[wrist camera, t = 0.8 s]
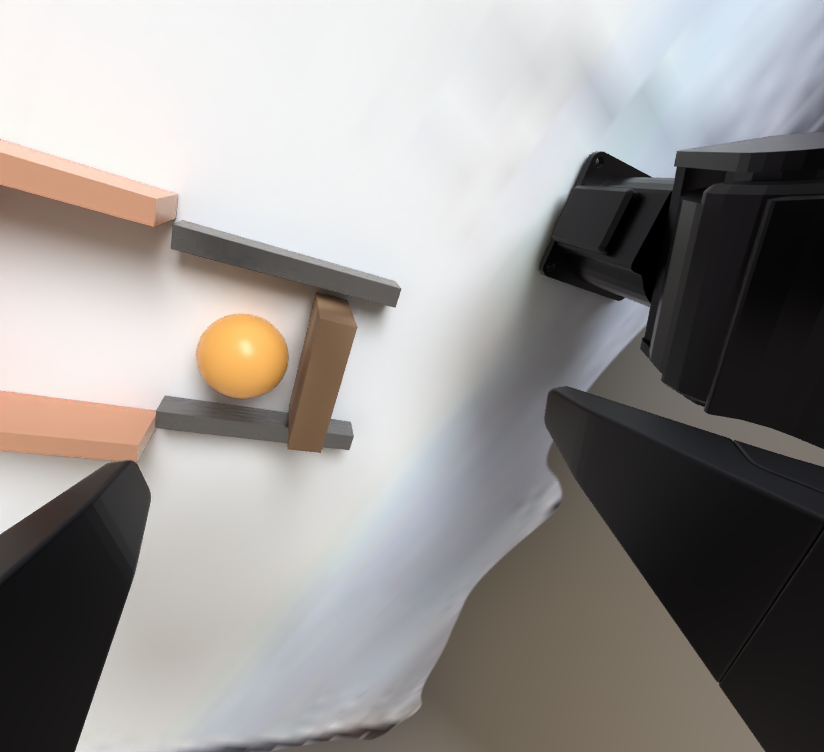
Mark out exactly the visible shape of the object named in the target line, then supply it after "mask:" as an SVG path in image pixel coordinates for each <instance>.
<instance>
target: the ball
mask: <svg viewBox="0 0 824 752" xmlns="http://www.w3.org/2000/svg"><path fill="white" fill-rule="evenodd" d="M196 360H197V365H198V369H199V371H200V373H201V375H202V377H203V378H204V380H205V381H206V382H207V383H208V384H209V385H210V386H211V387H212V388H213V389H214V390H216V391H217V392H219V393H221V394H223V395H225V396H229V397H232V398H239V399H248V398H254V397H258V396H261V395H263V394H265V393H267V392H269V391H270V390H272V389H273V388H274V387H275V386H277V384H278V383H279V382H280V381H281V379H282V378H283V376H284V374H285V372H286V370H287V366H288V360H289V355H288V348H287V345H286V342H285V340H284V338H283V336H282V334H281V333H280V332H279V330H278V329H277V328H276V327H275V326H274V325H272V324H271V323H270V322H268V321H266V320H265V319H263V318H260V317H258V316H254V315H249V314H233V315H228V316H225V317H223V318H221V319H219V320H217V321H215V322H214V323H212V324H211V325H210V326H209V327H208V328H207V329H206V330H205V331H204V333H203V334H202V336H201V338H200V340H199V343H198V345H197V350H196Z"/></svg>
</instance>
